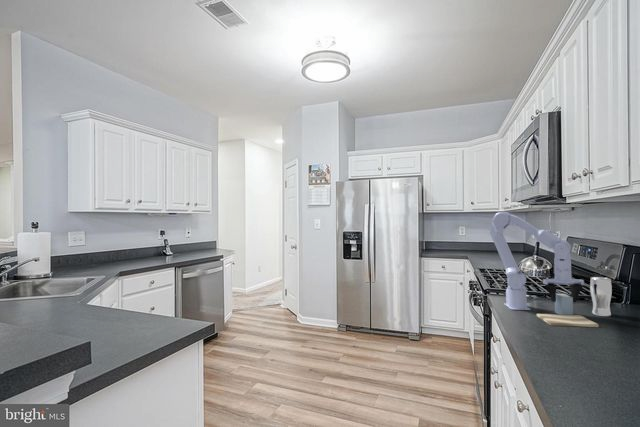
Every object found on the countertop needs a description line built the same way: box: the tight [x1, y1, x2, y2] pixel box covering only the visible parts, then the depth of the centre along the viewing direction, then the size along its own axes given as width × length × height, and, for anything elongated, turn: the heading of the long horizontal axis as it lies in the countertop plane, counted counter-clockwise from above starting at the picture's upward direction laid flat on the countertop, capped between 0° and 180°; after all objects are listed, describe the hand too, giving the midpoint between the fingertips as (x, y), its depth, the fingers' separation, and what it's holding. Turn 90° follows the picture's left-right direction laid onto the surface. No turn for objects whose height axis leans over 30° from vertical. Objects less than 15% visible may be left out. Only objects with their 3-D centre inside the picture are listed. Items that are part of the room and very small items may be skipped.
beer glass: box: [589, 276, 613, 317], centre depth 139 cm, size 7×7×15 cm
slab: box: [554, 293, 574, 315], centre depth 140 cm, size 6×4×8 cm, turn 169°
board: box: [536, 313, 600, 328], centre depth 131 cm, size 12×16×1 cm
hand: (563, 301), depth 140 cm, fingers open, 7 cm apart
